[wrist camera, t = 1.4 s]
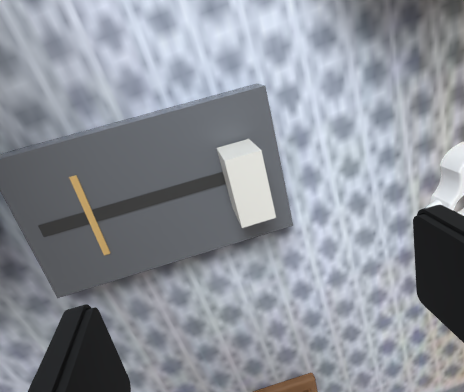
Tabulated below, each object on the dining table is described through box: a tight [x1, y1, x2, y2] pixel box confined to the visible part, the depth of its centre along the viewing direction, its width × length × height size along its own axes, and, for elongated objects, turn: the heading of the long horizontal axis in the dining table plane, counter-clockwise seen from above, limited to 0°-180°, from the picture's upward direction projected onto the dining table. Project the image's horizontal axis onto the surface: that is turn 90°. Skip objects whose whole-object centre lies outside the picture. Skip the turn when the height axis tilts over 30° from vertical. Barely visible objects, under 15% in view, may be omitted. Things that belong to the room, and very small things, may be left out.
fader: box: [217, 139, 276, 228], centre depth 31 cm, size 6×3×4 cm, turn 14°
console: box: [0, 84, 293, 298], centre depth 34 cm, size 14×24×3 cm, turn 104°
